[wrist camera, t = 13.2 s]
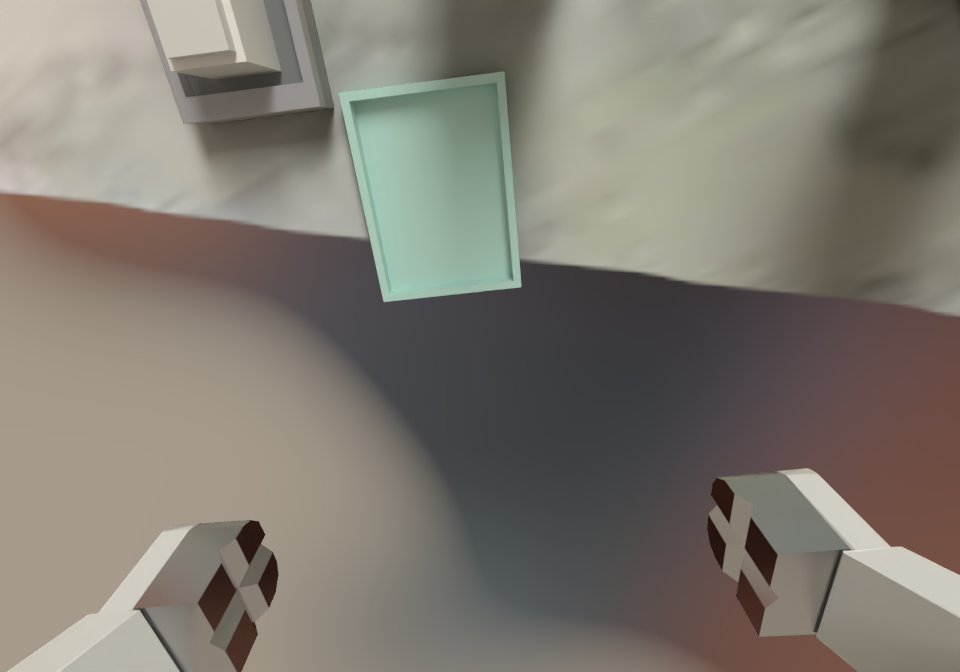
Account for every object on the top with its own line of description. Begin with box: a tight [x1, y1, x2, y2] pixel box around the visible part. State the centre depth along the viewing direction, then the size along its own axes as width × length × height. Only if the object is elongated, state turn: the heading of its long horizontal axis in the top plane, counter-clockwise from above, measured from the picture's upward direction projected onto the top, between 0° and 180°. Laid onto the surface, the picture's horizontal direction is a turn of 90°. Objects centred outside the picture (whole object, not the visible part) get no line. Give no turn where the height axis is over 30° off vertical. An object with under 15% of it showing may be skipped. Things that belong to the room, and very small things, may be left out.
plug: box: [147, 0, 281, 80], centre depth 27 cm, size 4×6×6 cm
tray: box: [339, 71, 521, 302], centre depth 35 cm, size 12×16×2 cm
